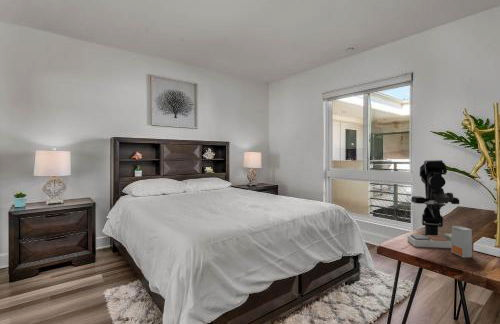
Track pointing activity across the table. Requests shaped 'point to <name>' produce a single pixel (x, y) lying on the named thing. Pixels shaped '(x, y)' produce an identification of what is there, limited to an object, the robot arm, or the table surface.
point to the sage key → (447, 236)
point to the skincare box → (461, 241)
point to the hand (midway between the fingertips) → (434, 217)
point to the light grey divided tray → (429, 243)
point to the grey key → (420, 237)
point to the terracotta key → (437, 238)
